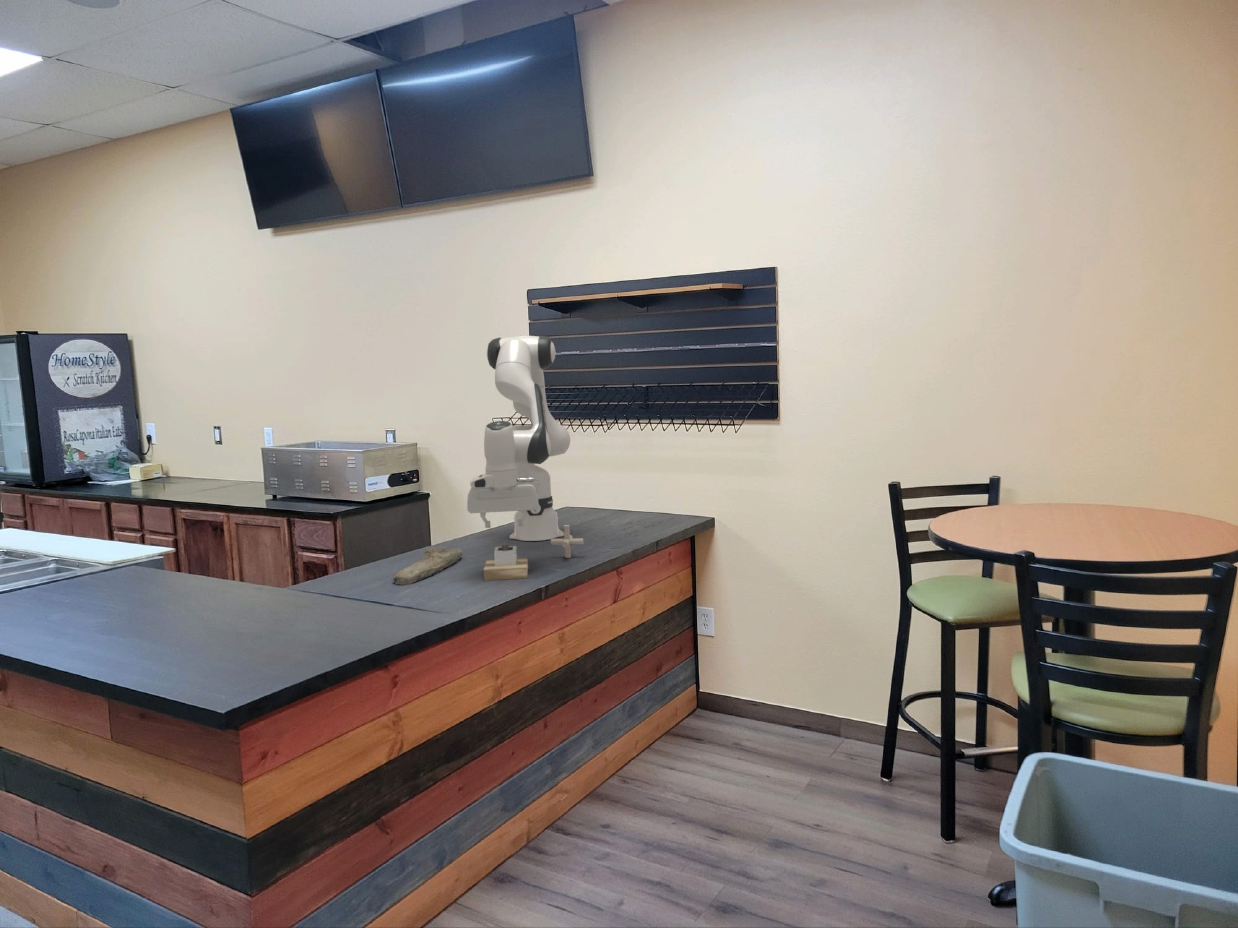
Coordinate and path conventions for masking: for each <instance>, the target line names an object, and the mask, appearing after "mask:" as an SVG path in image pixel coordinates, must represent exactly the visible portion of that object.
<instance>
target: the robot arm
mask: <svg viewBox="0 0 1238 928" xmlns="http://www.w3.org/2000/svg"><path fill="white" fill-rule="evenodd" d="M555 358H556V347H555V344H554V341H553V339H551V338H550V337H548V336H546V335H538V336H537V335H536V336H535V335H520V336H517V335H515V336H508V337H496V338H493V339H491V340H490V342H489V343H488V344H487V348H486V359H487V361H488V365H489V366H490V367H491V368H492V369H493V370H494V371H495V372H494V383H495V384H494V385H495V388H496V390H497V391H498V392H499V393H500V394H501V395H502V396H503V397H504V398H506V399H507V400H509V401H512V404H513V405H512V406H513V408H514V410H515V412H516V413H518V414H519V415H520V416H522V417H525V418H527V419H528V420H530V422H531V424H528V425H527V424H524V425H522V424H519V425H513V424H512V423H511V422H510V421H504V420H495V421H494V422H493V421H492V422H490V423H487V424H486V426H485V427H484V436H483V437H484V438H483V439H484V440H483V442H484V443H483V449H484V450H483V452H484V458H485V460H486V465H485V473H483V474H480V475H478V476H475V477H472V479H471V480H470V489H469V492H468V494H467V504H466V505H467V506H466V507H467V511H468V513H469V514H480V518H481V520H482V521H483V522H484V528H485V529H490V528H491V520H488V519H487V518H486V515H487V513H502V512H503V513H505V512H515V514H514V517H513V520H514V521H513V522H514V532H512V533H511V534H510V535H509V539H510V540H518V541H526V542H533V541H534V542H535V541H536V542H537V541H538V542H539V541H546V540H551V539H557V538H559V537H561V538H562V537H564V531H563V530H561V529H560V528H559V521H558V520H559V519H558V512H557V511H556V510H555V509H554V507H553V506H554V504H553V503H554V500H553V495H552V491H551V489H552V488H551V485H552V484H551V476H550V475H551V474H550V473H549V472H548V470H546V469H544V468H543V467H540V466H538V465H541V464H543V463H544V462H545V461H547V460H548V459H549V458H550V457H554V456H560V455H564V454H565V453H566V452H567V451H568V450H569V448H570V445H571V435H570V434H569V433H570V432H569V431H568V429H567V428H566V427H565V426H563V425H562V424H561V423H559V422H558V421H557V420H556V419H555V418H554V416H553V415H552V414H551V412H550V410H549V407H548V402H547V396H546V385H545V384H546V383H545V376H544V375H545V374H544V371H545V370H546V369H548V368H550V367H551V366H552V365H553V364H554V361H555Z"/></svg>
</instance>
